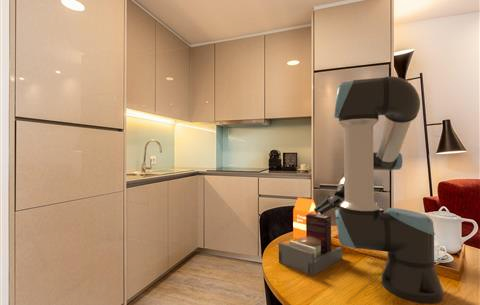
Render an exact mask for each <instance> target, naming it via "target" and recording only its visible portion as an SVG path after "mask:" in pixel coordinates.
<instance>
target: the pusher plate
mask: <svg viewBox="0 0 480 305" xmlns="http://www.w3.org/2000/svg"><path fill="white" fill-rule="evenodd" d="M289 245H291V246H294V247H297V248H300V249H303V250H306V251H309V252H312V253H314V259H315V258H316V248H315V247H311V246H308V245H305V244H302V243H299V242H298V241H295V240H292V239H291V240H289Z"/></svg>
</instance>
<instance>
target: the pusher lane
mask: <svg viewBox="0 0 480 305" xmlns="http://www.w3.org/2000/svg"><path fill="white" fill-rule="evenodd" d="M342 259H343V247H341V246H338V247H336V248H334V249H331V251H329V252H327V253H325V254H323V255H321V256H319V257H317V258H315V259H314V253H312V252H309V251H306V250H303V249H300V248H297V247H294V246H291V245H290V244H287V243H284V242H278V263H279V264H281V265H283V266H284V265H285V266H287V267H289V268H291V269H294V270H296V271H299V272H301V273H303V274H306V275H308V276H311V277H313V276H315V275H316V274H318V273H320V272H322V271H323V270H326V269H327V268H329V267H330V266H332V265H333V264H335V263H337V262H339V261H340V260H342Z"/></svg>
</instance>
